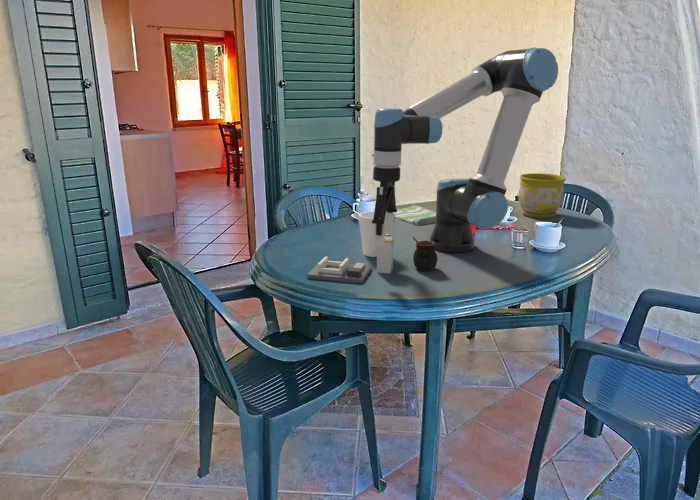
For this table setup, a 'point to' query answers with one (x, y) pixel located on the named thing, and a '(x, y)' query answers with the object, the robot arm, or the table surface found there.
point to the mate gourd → (425, 255)
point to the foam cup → (368, 233)
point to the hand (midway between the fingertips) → (384, 239)
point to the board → (340, 271)
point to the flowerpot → (540, 194)
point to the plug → (385, 256)
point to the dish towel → (415, 215)
